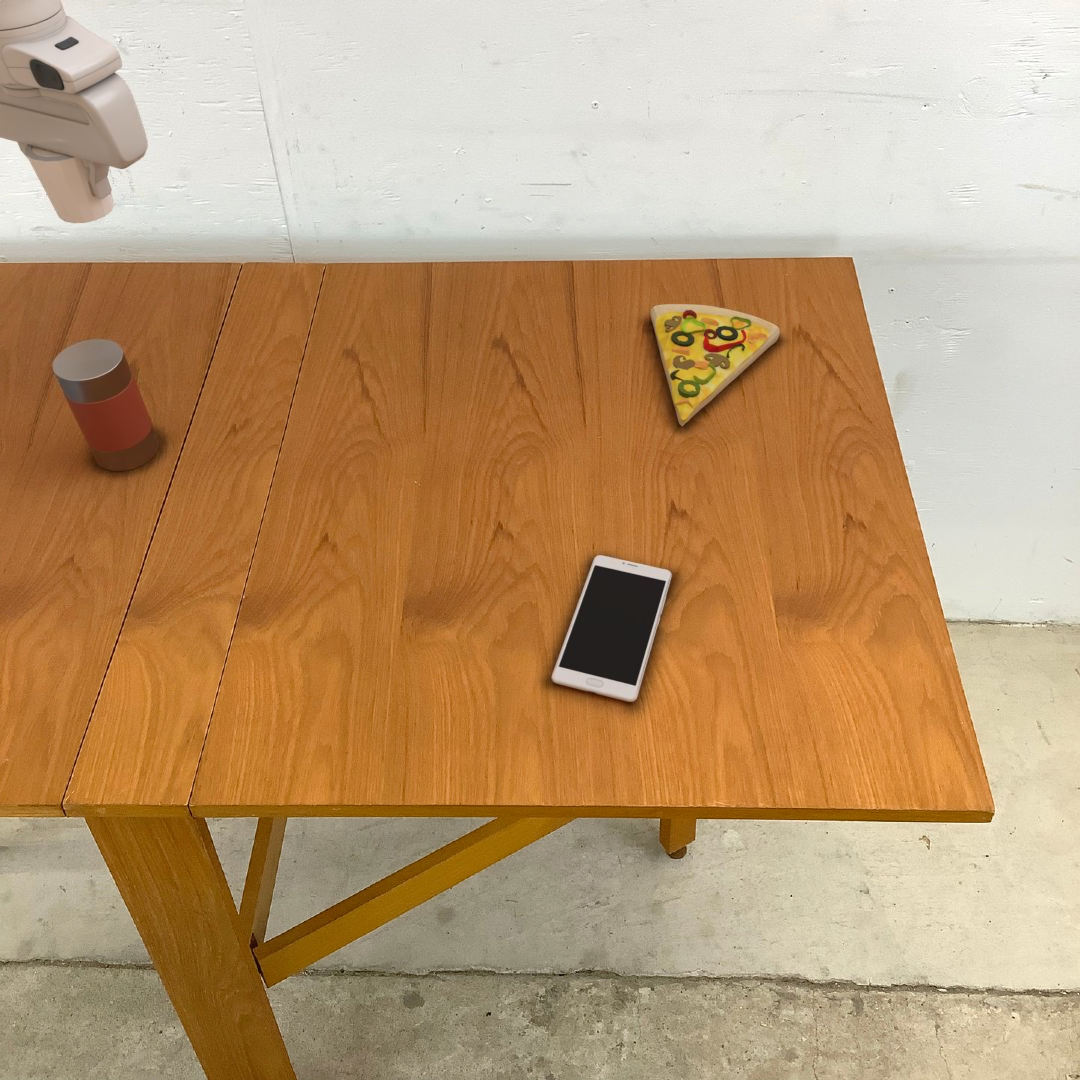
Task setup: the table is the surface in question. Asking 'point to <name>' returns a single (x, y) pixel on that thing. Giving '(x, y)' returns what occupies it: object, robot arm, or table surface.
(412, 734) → the table surface
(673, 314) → the pizza slice
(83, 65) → the robot arm
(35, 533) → the table surface
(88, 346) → the tin can
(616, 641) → the smartphone
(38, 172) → the shot glass
